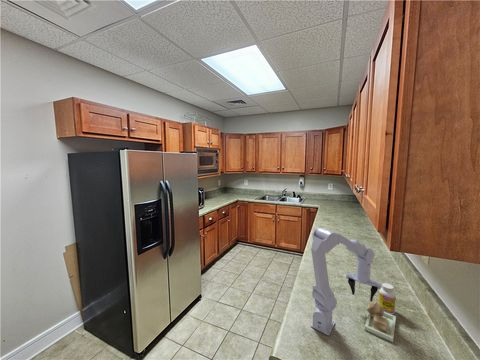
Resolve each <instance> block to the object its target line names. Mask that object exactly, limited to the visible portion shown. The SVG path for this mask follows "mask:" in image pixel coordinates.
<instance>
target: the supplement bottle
mask: <svg viewBox="0 0 480 360" xmlns="http://www.w3.org/2000/svg"><path fill="white" fill-rule="evenodd" d="M394 290H395V289H394V286H393V285H392V284H391V283H387V282H384V283H382V284H381V290H380V289H378V291H379V292H378V294H379V295H378V304H379V305H380V307H381V308H382V309H383V310H384V312H386V313H389V314H391V315H394V314H395V313H396V312H395V311H396V299H397V297H396V296H397V295H396V293H395V291H394Z"/></svg>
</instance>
